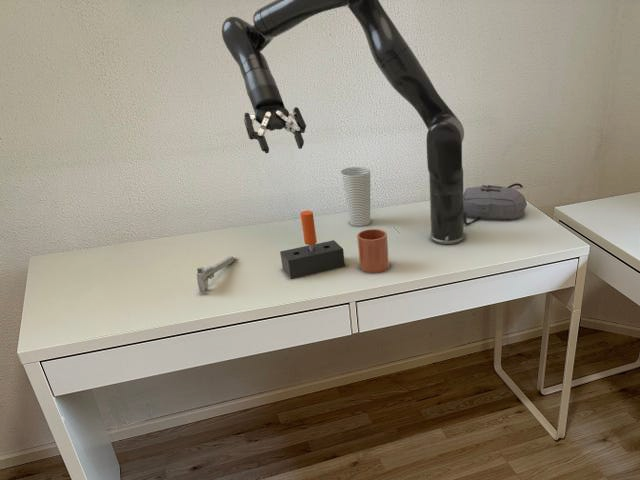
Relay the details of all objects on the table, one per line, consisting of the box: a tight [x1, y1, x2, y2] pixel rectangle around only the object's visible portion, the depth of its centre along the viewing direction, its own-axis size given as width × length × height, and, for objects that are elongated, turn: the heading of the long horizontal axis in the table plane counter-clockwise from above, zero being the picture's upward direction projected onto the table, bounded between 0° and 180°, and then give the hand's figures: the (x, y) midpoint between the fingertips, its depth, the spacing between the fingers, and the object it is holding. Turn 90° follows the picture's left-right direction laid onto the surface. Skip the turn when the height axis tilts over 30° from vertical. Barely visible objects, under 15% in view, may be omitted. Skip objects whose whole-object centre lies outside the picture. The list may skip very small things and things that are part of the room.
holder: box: [279, 239, 346, 280], centre depth 174 cm, size 6×14×5 cm, turn 122°
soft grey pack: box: [463, 184, 528, 221], centre depth 207 cm, size 15×8×20 cm
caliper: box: [196, 255, 236, 294], centre depth 169 cm, size 20×1×6 cm, turn 176°
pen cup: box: [356, 228, 390, 274], centre depth 173 cm, size 7×7×9 cm
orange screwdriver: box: [300, 210, 318, 252], centre depth 171 cm, size 3×3×15 cm
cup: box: [340, 166, 371, 227], centre depth 197 cm, size 8×8×16 cm
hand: (284, 149), depth 168 cm, fingers open, 8 cm apart
